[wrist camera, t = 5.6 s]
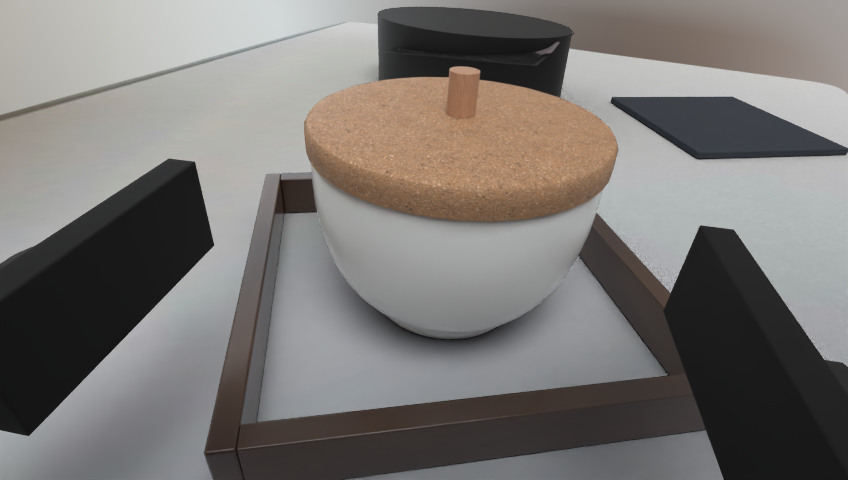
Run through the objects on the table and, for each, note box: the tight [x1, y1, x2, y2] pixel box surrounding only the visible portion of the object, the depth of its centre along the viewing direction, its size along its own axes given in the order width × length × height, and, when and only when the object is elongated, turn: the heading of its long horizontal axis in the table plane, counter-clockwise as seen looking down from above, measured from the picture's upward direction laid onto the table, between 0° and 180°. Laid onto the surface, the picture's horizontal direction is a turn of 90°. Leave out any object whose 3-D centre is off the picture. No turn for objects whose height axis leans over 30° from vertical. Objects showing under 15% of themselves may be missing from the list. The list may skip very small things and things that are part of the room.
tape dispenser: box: [378, 7, 574, 98], centre depth 44 cm, size 14×18×8 cm
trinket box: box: [304, 66, 618, 339], centre depth 19 cm, size 11×11×9 cm
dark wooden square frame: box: [204, 172, 706, 480], centre depth 21 cm, size 16×16×2 cm
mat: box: [611, 97, 848, 159], centre depth 41 cm, size 13×13×1 cm
